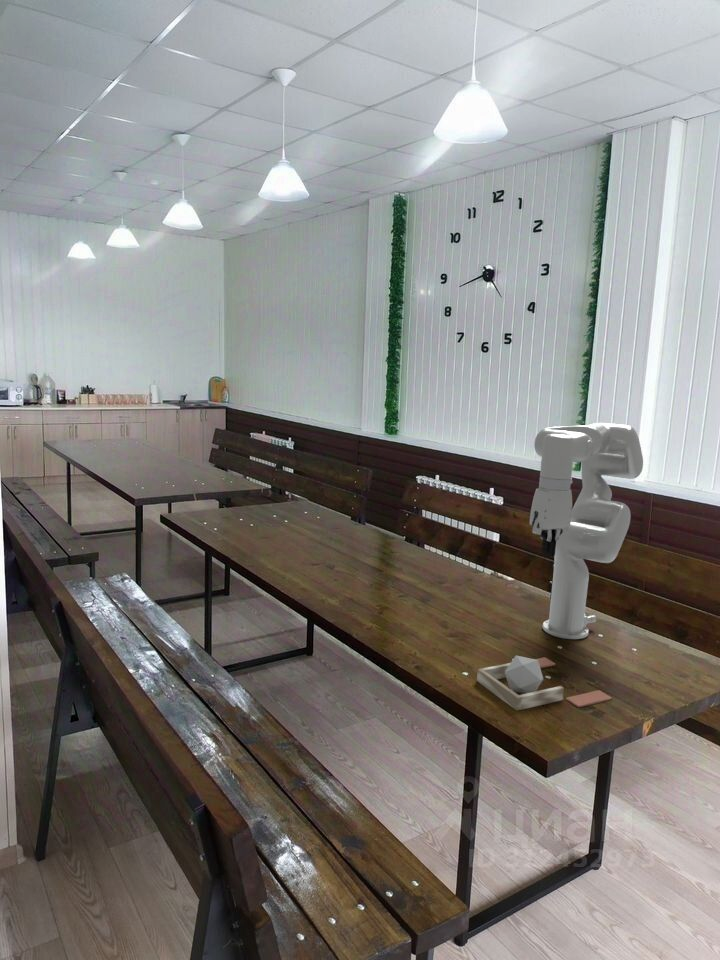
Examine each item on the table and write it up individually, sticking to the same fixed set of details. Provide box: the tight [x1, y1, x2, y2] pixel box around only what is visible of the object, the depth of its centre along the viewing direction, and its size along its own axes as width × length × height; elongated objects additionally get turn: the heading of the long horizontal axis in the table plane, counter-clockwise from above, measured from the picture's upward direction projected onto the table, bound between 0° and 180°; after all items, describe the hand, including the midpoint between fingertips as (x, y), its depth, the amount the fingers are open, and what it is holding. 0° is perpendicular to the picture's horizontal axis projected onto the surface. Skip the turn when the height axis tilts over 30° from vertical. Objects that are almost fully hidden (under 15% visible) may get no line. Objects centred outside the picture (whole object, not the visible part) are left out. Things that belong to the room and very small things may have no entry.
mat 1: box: [534, 656, 556, 669], centre depth 179 cm, size 10×4×1 cm, turn 116°
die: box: [505, 655, 544, 695], centre depth 165 cm, size 8×9×10 cm
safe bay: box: [476, 662, 565, 712], centre depth 165 cm, size 13×15×3 cm
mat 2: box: [565, 689, 613, 708], centre depth 163 cm, size 10×4×1 cm, turn 116°
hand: (548, 554), depth 180 cm, fingers closed
